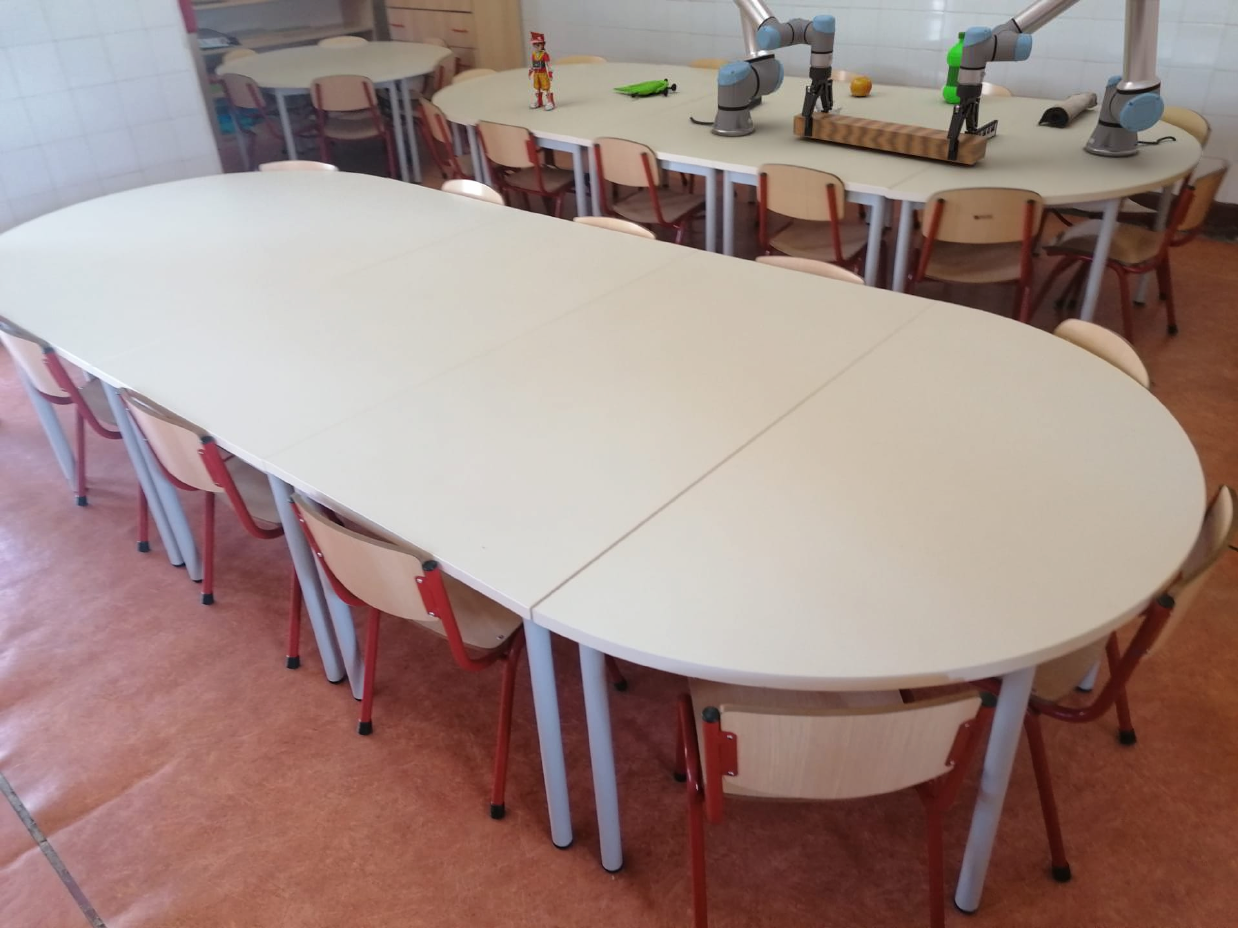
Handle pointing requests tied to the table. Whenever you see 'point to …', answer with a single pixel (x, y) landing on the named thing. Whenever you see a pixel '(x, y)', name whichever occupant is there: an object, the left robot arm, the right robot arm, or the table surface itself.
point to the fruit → (861, 86)
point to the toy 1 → (541, 71)
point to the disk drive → (754, 101)
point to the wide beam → (891, 136)
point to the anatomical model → (833, 111)
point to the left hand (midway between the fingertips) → (815, 132)
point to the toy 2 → (648, 88)
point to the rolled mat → (1068, 109)
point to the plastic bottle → (953, 70)
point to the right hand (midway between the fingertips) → (958, 156)
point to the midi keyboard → (987, 129)
